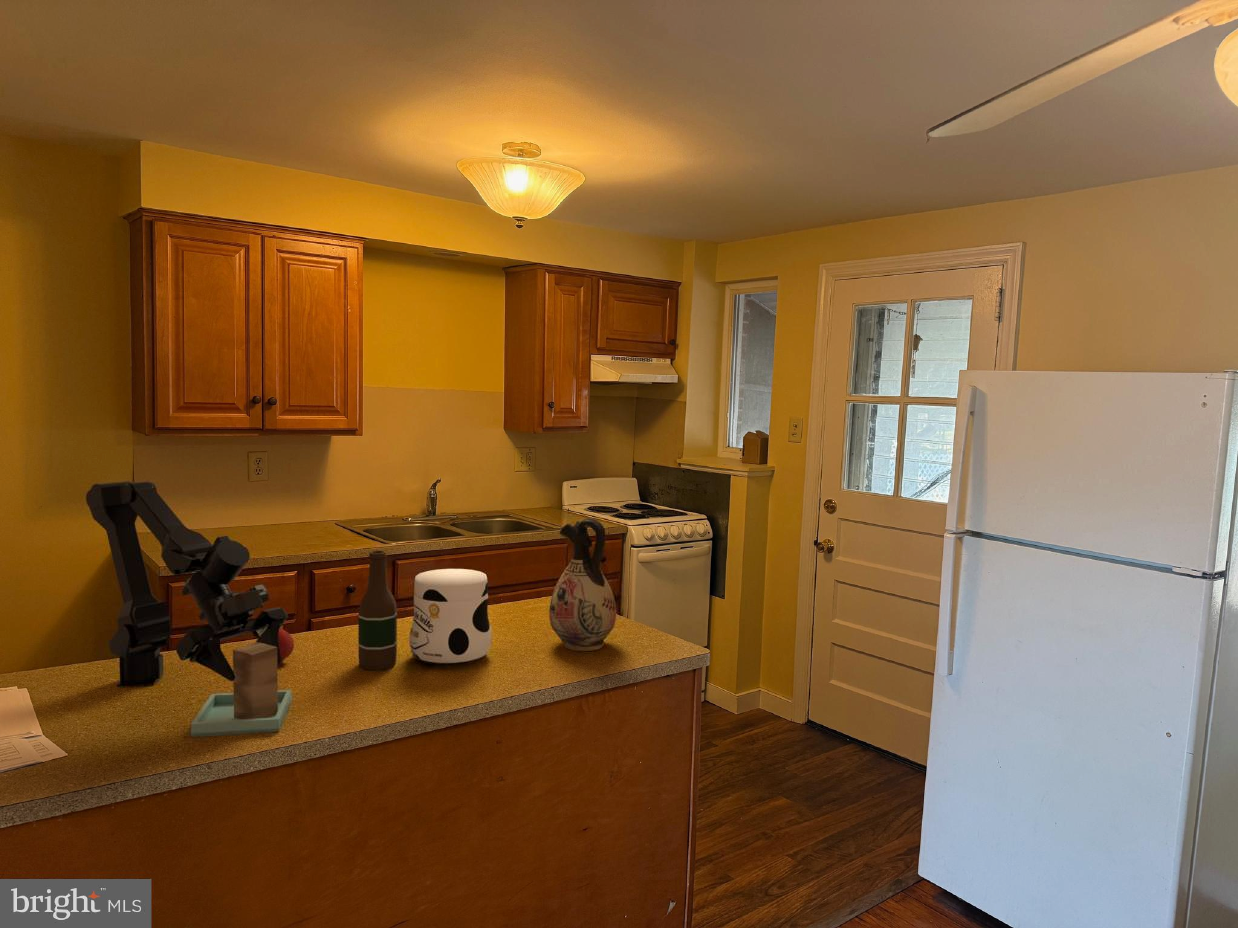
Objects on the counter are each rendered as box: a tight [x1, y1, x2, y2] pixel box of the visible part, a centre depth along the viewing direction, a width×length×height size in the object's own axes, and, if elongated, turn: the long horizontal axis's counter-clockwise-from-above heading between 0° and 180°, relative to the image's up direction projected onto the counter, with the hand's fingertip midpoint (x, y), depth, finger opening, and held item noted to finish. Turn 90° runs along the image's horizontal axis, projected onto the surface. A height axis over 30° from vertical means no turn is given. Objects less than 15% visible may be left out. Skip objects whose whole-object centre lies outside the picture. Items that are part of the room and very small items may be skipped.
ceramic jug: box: [548, 518, 617, 652], centre depth 189 cm, size 17×16×30 cm
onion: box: [278, 625, 295, 664], centre depth 173 cm, size 6×6×8 cm
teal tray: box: [190, 689, 293, 738], centre depth 145 cm, size 14×14×2 cm
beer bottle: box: [357, 550, 398, 671], centre depth 173 cm, size 8×8×24 cm
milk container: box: [408, 568, 493, 667], centre depth 178 cm, size 17×17×18 cm
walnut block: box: [232, 642, 279, 719], centre depth 144 cm, size 5×5×12 cm
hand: (257, 671), depth 144 cm, fingers open, 9 cm apart
